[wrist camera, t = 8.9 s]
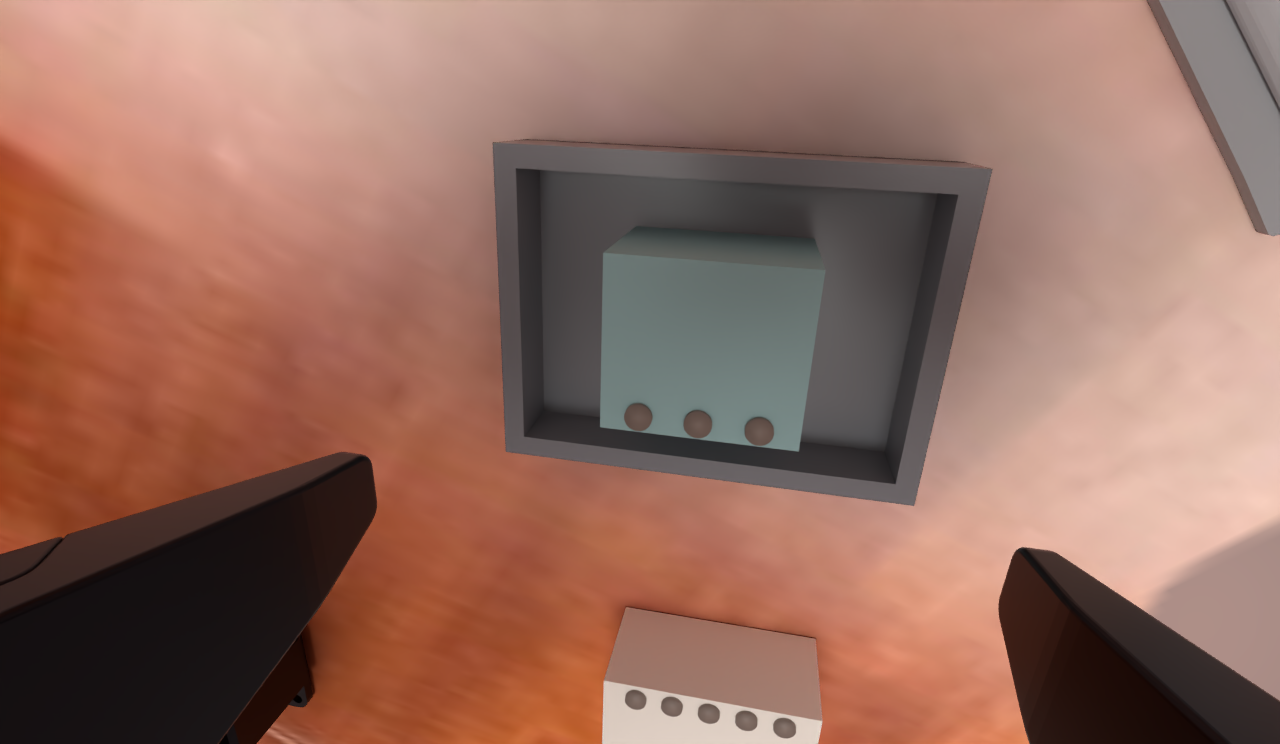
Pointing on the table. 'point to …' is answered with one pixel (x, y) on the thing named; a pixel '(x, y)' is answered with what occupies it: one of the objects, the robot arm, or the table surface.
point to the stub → (709, 335)
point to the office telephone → (1234, 88)
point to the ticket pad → (709, 684)
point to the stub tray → (749, 204)
